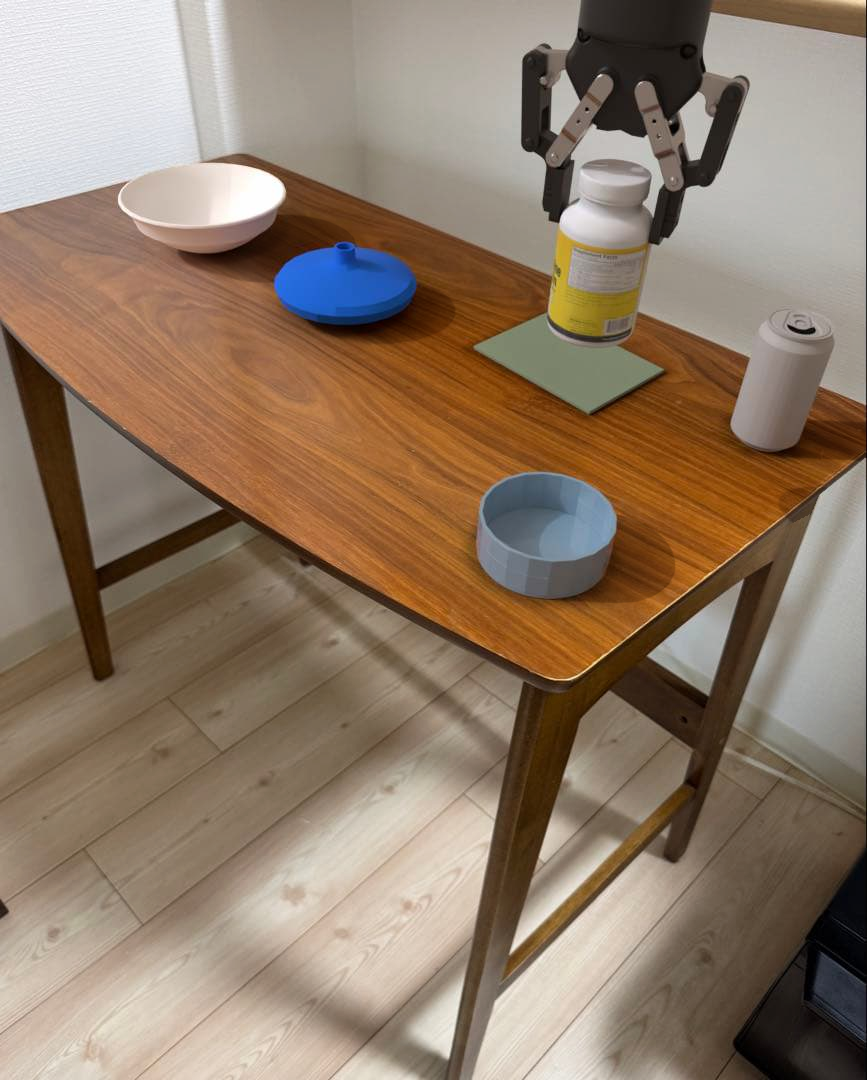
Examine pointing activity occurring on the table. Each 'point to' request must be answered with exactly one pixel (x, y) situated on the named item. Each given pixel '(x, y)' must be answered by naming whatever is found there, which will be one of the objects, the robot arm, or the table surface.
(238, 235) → the bowl
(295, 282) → the vase
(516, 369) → the mat
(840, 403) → the table surface
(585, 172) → the pill bottle
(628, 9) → the robot arm
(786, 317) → the beverage can
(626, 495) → the table surface
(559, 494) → the grey-blue round dish
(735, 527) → the table surface
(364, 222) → the table surface
